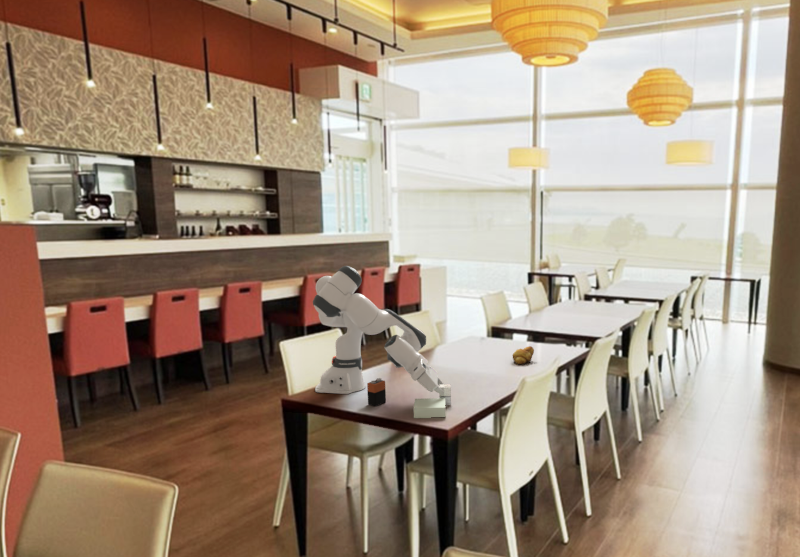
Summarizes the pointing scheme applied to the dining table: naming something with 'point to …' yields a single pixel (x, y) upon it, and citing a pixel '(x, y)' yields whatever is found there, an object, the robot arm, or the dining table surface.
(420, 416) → the stand
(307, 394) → the dining table surface
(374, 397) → the battery
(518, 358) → the bread roll
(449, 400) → the block
